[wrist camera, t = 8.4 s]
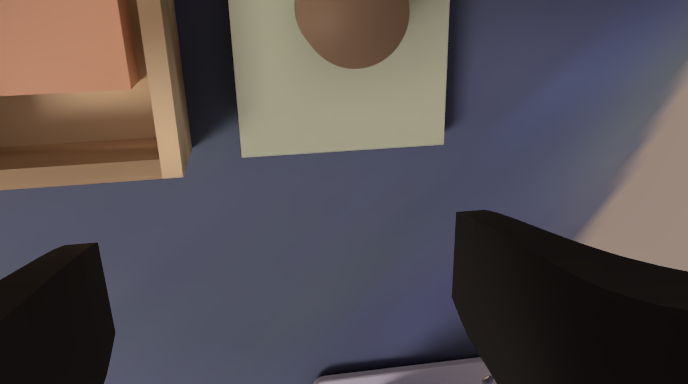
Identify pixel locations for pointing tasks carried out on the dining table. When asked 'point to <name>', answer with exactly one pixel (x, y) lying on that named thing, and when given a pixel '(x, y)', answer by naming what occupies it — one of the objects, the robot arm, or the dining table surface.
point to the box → (105, 120)
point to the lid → (339, 74)
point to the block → (66, 46)
